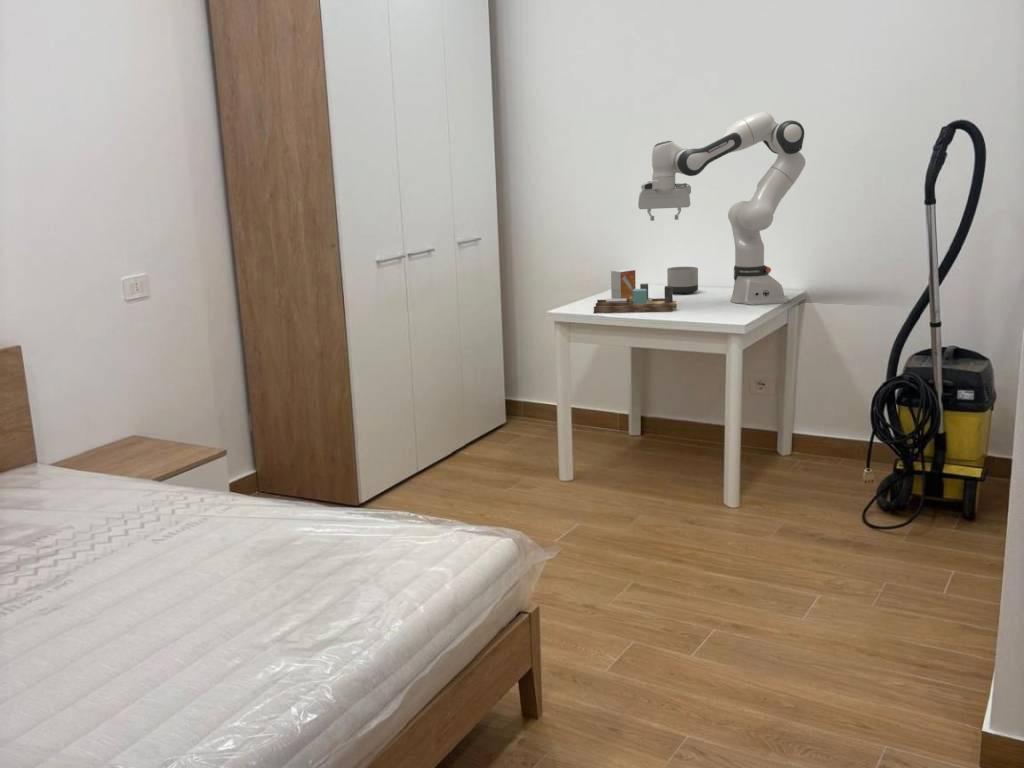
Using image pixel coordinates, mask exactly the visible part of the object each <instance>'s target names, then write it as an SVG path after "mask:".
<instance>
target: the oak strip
mask: <svg viewBox="0 0 1024 768" xmlns="http://www.w3.org/2000/svg"><path fill="white" fill-rule="evenodd" d="M673 295H674V294H673V286H667V285H664V298H665V301H647V302H646V304H633V297H632V296H631V297H630V298H629V306H646V305H672V309H677V306H678V305H677V300H674V299H673V298H674V297H673Z"/></svg>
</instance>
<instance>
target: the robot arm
mask: <svg viewBox="0 0 1024 768" xmlns="http://www.w3.org/2000/svg"><path fill="white" fill-rule="evenodd" d="M804 138H805V128H804V127H803V125H802V124H801V123H800V122H799V121H797V120H790V119H789V120H785V121H783V122H782V123H778V122H776V121H775V118H774V117H773V116H772V114H771V113H769V112H768V111H759V112H755V113H753V114H749V115H748V116H745V117H743V118H741V119H739V120H737V121H735V122H733V123H731V124H730V125H728V126H727V127H726V129H725V130H724V133H723V135H722V136H721V137H720V138H719V139H717V140H715V141H712V142H711V143H709V144H707V145H705V146H704V147H700V148H687V147H686V148H685V147H683V146H680V145H679V144H676V143H675V142H674V141H673V140H666V141H662V142H657V144H655V145H654V146H653V148H652V153H651V165H652V171H653V172H652V176H651V177H652V180H651V181H647V182H645V183H643V184H641V186H640V189H641V191H640V192H639V195H638V201H637V202H638V203H637V204H638V209H639V210H646V211H647V214H648V216H649V218H650V219H649V221H651V222H652V221H655V215H652V213H651V212H652V210H655V209H657V210H658V209H660V210H661V209H677V211H678V212H677V213H676V214H674V220H679V215H680V214H681V212H682V208H689V207H690V206H691V197H690V194H691V193H692V186H691V185H690V184H688V183H686V182H684V183H676V174H677V173H678V174H681V175H685V176H688V177H694V176H697V175H699V174H700V173H702V172H703V170H704V169H705V168H706V167H707V166H708V165H709V164H710V163H712V162H714V161H716V160H718V159H720V158H721V157H724V156H725V155H728V154H731V153H734V152H739V151H742V150H744V149H745V150H746V149H748V148H750V147H753V146H754V145H756V144H758V143H760V142H763V143H764V144H765V146H766V147H767V148H768V150H770V151H771V152H772V153H773V154H776V155H777V157H776V159H775V161H774V163H772V165H771V166H770V167H769V168H768V170H767V171H766V172H765V174H764V175H763V176H762V178H760V180H759V181H758V182H757V185H756V190H755V192H754V193H753V196H752V198H751V199H750V200H749V201H747V200H742V201H739V202H736V203H734V204H733V205H731V207H730V208H729V210H728V212H727V213H728V214H727V218H728V221H729V223H730V225H731V231H732V235H733V240H734V241H733V242H734V248H735V249H734V251H735V252H734V259H735V260H734V261H735V262H734V266H733V280H734V282H733V290H732V296H731V299H730V301H731V302H732V303H737V304H744V305H753V306H754V305H768V304H769V305H770V304H786V303H789V302H790V298H789V296H788V295H785V294H784V288H783V285H782V284H781V283H780V282H779V281H778V280H776V278H774V277H772V276H771V275H770V273H771V271H772V268H771V267H768V266H767V265H765V244H764V242H763V240H762V237H761V233H760V231H764V230H766V229H768V228H769V227H771V225H772V224H773V221H774V214H775V212H776V210H777V207H778V206H779V204H780V203H781V201H782V200H783V199H784V197H785V196H786V194H787V193H788V191H790V189H791V188H792V186H793V185H794V184H795V183H796V181H797V179H798V178H799V177H800V175H801V174H802V172H803V170H804V168H805V167H806V158H805V157H804V155H803V154H802V153H801V152H800V151H801V150H802V149H803V145H804V144H803V143H804V140H805V139H804Z"/></svg>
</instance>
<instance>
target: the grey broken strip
mask: <svg viewBox="0 0 1024 768" xmlns="http://www.w3.org/2000/svg"><path fill="white" fill-rule="evenodd" d="M639 286H640V287H639V289H647V301H652V299H653V297H649V283H640V285H639ZM605 300H606V303H624V302H627V298H623V299H612V298H607V299H605Z"/></svg>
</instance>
